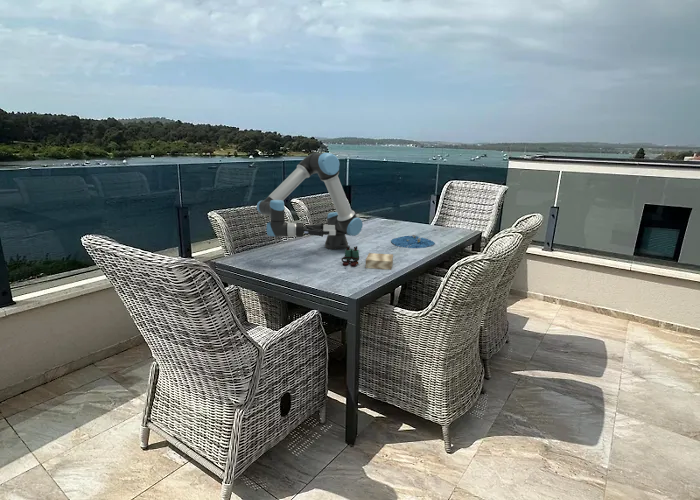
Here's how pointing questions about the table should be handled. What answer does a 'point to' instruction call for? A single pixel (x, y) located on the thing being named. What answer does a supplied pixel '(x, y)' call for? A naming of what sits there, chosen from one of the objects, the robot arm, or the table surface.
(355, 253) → the binoculars
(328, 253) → the table surface
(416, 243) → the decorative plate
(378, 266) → the birch block
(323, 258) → the table surface
